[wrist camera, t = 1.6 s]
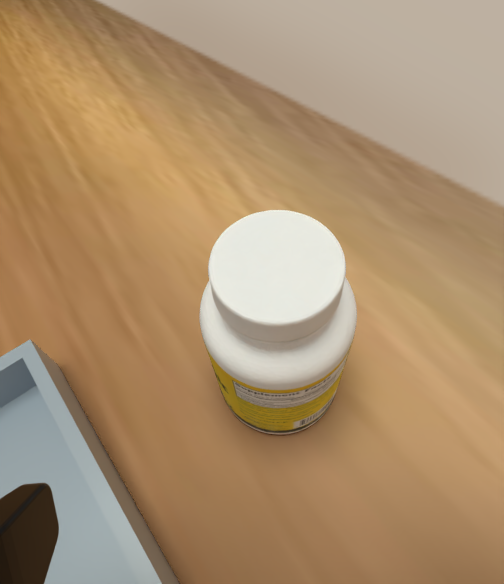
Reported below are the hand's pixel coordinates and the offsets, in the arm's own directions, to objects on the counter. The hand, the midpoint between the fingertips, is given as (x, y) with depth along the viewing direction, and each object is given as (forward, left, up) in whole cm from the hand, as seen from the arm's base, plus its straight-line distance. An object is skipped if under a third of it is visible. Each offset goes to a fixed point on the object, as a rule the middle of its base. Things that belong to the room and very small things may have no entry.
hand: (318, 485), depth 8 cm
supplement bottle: (+5, -3, -13) cm, 14 cm away
